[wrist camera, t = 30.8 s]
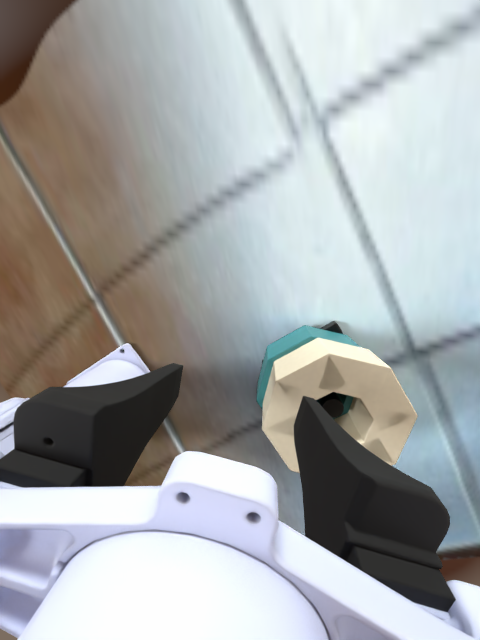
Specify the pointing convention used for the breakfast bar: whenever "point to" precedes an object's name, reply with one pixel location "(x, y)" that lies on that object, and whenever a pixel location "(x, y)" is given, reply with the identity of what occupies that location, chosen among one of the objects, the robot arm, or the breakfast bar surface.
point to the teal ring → (293, 343)
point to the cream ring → (345, 378)
